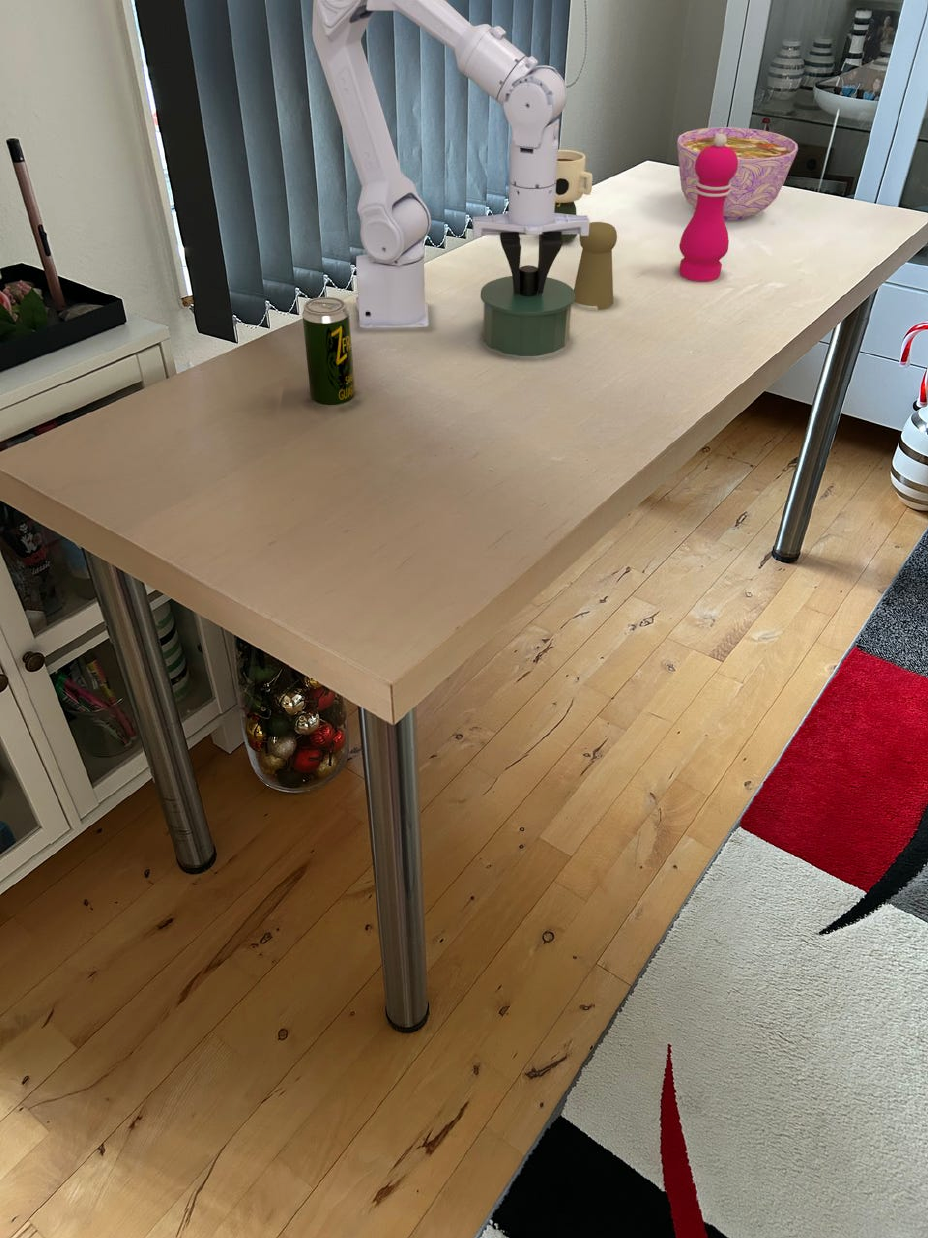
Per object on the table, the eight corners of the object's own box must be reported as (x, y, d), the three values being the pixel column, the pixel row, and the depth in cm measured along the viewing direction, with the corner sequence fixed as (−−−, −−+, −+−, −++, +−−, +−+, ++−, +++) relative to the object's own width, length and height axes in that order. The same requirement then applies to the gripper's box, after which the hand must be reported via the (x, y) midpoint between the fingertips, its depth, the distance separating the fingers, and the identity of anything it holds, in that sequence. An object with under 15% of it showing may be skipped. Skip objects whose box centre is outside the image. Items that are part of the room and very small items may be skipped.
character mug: (518, 238, 166) (521, 154, 158) (541, 226, 171) (545, 144, 162) (575, 252, 161) (582, 166, 153) (597, 239, 166) (604, 155, 157)
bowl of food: (650, 199, 182) (658, 130, 175) (752, 191, 186) (764, 123, 178) (696, 236, 167) (707, 163, 160) (805, 227, 171) (821, 154, 163)
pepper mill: (670, 278, 153) (690, 137, 140) (681, 262, 158) (701, 124, 145) (718, 285, 151) (742, 143, 138) (727, 269, 156) (751, 130, 143)
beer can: (303, 407, 121) (293, 311, 113) (321, 387, 125) (313, 293, 117) (345, 413, 120) (337, 317, 112) (362, 393, 124) (355, 299, 116)
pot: (485, 360, 131) (486, 314, 127) (480, 324, 140) (481, 280, 136) (572, 358, 132) (576, 313, 128) (562, 322, 140) (565, 279, 136)
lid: (483, 321, 127) (483, 287, 124) (477, 283, 137) (478, 251, 134) (580, 319, 128) (583, 286, 125) (568, 282, 137) (570, 250, 134)
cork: (611, 311, 143) (619, 233, 136) (569, 307, 144) (575, 229, 137) (615, 295, 148) (622, 218, 141) (574, 291, 149) (580, 215, 142)
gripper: (475, 192, 119) (474, 303, 128) (596, 191, 120) (587, 301, 128) (472, 174, 125) (471, 282, 133) (588, 173, 125) (579, 280, 134)
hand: (527, 290), depth 131 cm, fingers closed on lid, 2 cm apart
